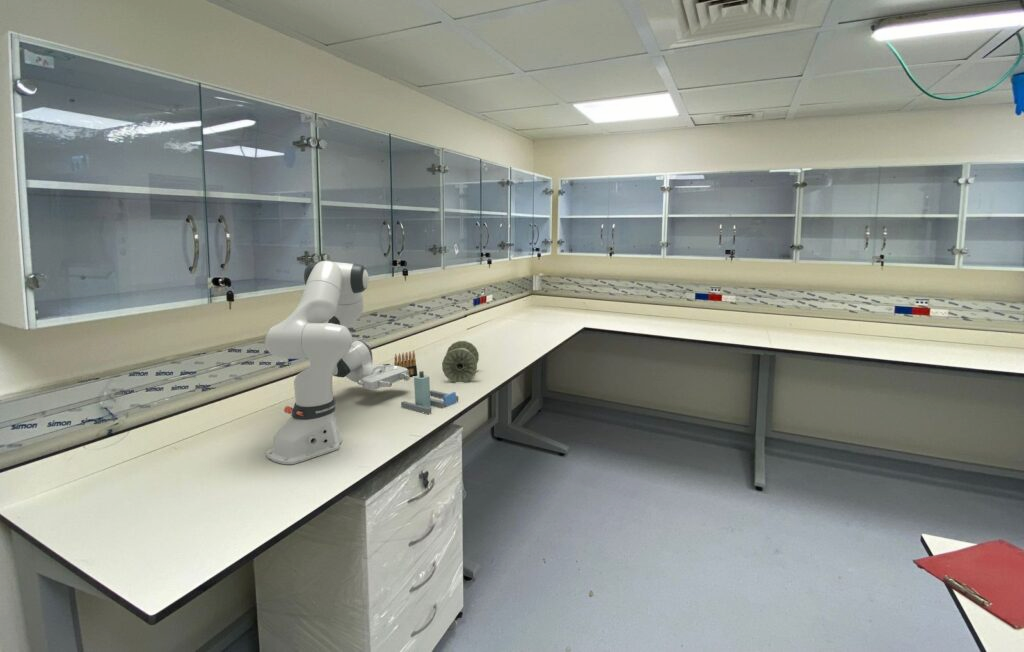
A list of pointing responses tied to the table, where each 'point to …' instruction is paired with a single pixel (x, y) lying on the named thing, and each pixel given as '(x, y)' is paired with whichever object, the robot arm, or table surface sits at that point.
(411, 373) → the ammunition clip
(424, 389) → the capped teal pillar
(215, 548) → the table surface
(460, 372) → the spool
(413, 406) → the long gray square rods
